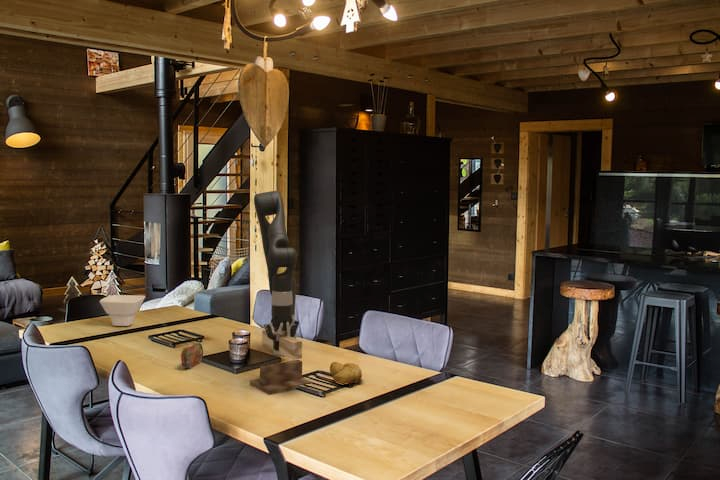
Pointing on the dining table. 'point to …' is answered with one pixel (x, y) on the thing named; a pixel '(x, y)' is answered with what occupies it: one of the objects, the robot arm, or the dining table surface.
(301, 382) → the stand
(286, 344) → the oak bar
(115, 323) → the bowl
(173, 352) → the dining table surface
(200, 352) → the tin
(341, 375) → the bread roll
